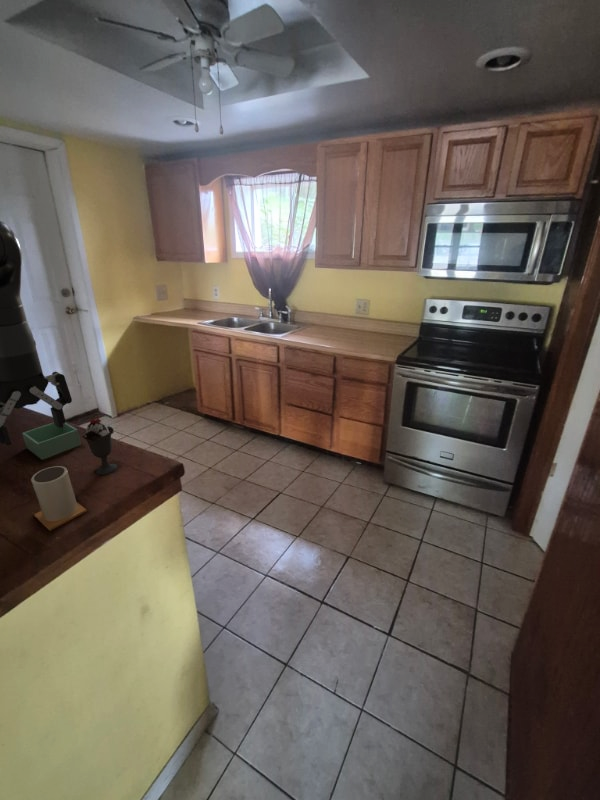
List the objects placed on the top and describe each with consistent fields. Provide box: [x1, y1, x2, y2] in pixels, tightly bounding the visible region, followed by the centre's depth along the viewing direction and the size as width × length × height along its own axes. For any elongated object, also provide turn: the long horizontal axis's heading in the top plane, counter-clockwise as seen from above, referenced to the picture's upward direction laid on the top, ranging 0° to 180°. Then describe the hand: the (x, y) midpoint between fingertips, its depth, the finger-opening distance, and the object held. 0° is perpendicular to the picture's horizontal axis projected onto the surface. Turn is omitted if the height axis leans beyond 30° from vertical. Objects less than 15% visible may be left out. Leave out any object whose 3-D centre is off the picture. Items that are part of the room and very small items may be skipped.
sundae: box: [81, 409, 118, 476], centre depth 87 cm, size 7×7×15 cm
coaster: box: [33, 502, 88, 532], centre depth 75 cm, size 7×7×1 cm
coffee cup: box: [30, 465, 78, 522], centre depth 74 cm, size 6×6×9 cm
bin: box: [21, 422, 82, 461], centre depth 98 cm, size 10×10×5 cm
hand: (34, 434), depth 68 cm, fingers open, 8 cm apart
